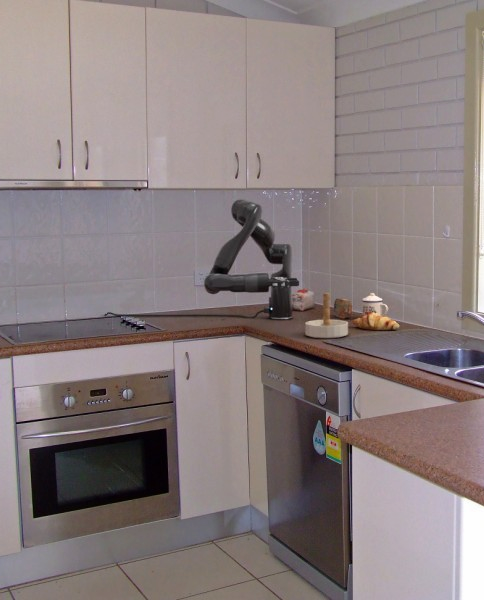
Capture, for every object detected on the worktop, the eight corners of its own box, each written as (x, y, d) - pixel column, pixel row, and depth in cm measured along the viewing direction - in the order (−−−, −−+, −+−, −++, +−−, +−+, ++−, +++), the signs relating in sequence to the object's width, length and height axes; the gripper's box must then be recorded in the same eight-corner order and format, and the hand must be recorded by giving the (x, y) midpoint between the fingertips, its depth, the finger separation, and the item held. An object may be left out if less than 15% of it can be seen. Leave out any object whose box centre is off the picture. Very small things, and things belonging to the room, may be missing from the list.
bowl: (297, 337, 323) (297, 324, 322) (317, 331, 338) (316, 318, 337) (337, 340, 316) (337, 327, 316) (354, 333, 332) (354, 321, 331)
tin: (333, 315, 381) (333, 297, 380) (339, 315, 382) (339, 296, 381) (346, 320, 367) (346, 301, 366) (353, 319, 369) (353, 300, 368)
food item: (303, 311, 394) (303, 290, 392) (288, 310, 397) (288, 290, 395) (316, 308, 406) (316, 287, 405) (301, 307, 409) (301, 287, 408)
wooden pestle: (319, 334, 326) (318, 293, 324) (323, 332, 330) (323, 292, 328) (329, 335, 324) (329, 294, 322) (334, 333, 328) (333, 292, 326)
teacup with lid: (358, 320, 366) (358, 293, 365) (367, 317, 374) (367, 291, 373) (383, 322, 361) (383, 295, 359) (392, 319, 369) (392, 293, 367)
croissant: (401, 337, 341) (405, 319, 344) (393, 329, 333) (397, 310, 335) (354, 333, 350) (359, 315, 353) (345, 325, 342) (350, 306, 344)
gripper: (257, 275, 319) (299, 274, 321) (255, 271, 332) (296, 270, 335) (257, 294, 320) (299, 293, 322) (255, 290, 333) (296, 289, 336)
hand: (298, 281), depth 329 cm, fingers open, 8 cm apart
